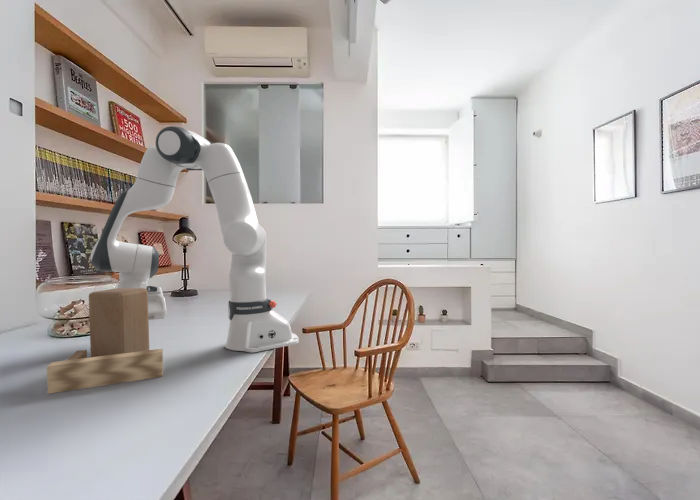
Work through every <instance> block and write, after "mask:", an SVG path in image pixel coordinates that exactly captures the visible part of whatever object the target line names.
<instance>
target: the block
mask: <svg viewBox="0 0 700 500" xmlns="http://www.w3.org/2000/svg"><path fill="white" fill-rule="evenodd" d="M88 310H89V311H88V314H89V340H90V342H89V343H90V357H99V356H107V355H115V354H123V353H131V352H139V351H147V350H150V330H149V329H150V327H149V325H150V324H149V323H150V322H149V321H150V320H148V291H147V289H144V288H117V287H115V288H110V289H103V290H98V291H92V292H90V293H89V294H88Z"/></svg>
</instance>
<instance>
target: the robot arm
mask: <svg viewBox="0 0 700 500" xmlns="http://www.w3.org/2000/svg"><path fill="white" fill-rule="evenodd" d="M185 169H186V171H203V173H204V176H205V179H206V181H207V183H208V188H209V191H210V193H211V196H212V199H213V201H214V204H215V207H216V211H217V216H218V217H217V218H218V221H219V226H220V230H221V231H220V232H221V234H222V239H223V243H224V246H225V247H226V249H227V250H228V251H229V253H231V261H230V271H229V275H228V276H229V277H228V278H229V280H228V281H229V283H228V284H229V300H228V304H227V311H228V312H227V316H228V319H229V324H228V326H229V327H228V334H227V338H226V343H225V349H227V350H230V351H238V352H239V351H240V352H246V353H257V352H262V351H269V350H272V349H278V348H283V347H289V346H294V345H297V344H299V342H300V340H299V338H300V337H299V336H298V335H297V334H296V333H295V332H292V328H291V325H290V322H289V321H288V320H287V319H286V318H285V317H284V316H282V315H281V314H279V313H278V312H276V311H275V310H274V308H276V307H277V302H276V301H275V300H272V299H269V298H267V255H268V252H267V250H268V246H267V245H268V236H267V233H266V230H265V229H264V228H263V226H262V225H260V224H259V223H260V222H259V220H258V217H257V213H256V209H255V206H254V202H253V197H252V194H251V192H250V188H249V186H248V183H247V180H246V177H245V173H244V171H243V168H242V166H241V163H240V161H239V159H238V157H237V156H236V154H235V152H234V149H232V147H231V146H230V145H229V144H226V143H223V142H212V141H211V140H210V139H208V138H206V137H203V136H201V135H200V134H198V133H197V132H195V131H192V130H189V129H186V128H183V127H180V126H166V127H164V128H162V129H161V130H160V131H158V133H157V135H156V136H155V145H153V146H150V147H148V148H146V150H145V152H144V154H143V157H142V159H141V162H140V164H139V167H138V171H137V174H136V179H135V181H134V183H133V185H132V186H131V187H130V188H128V189H127V190H123V191H122V192H121V193H120V194H119V195H118V197H117V199H116V201H115V203H114V205H113V207H112V209H111V211H110V213H109V215H108V218H107V220H106V222H105V225H104V227H103V228H102V232H101V234H100V236H99V239H98V240H97V241H96V243H95V244H94V246H93V248H91V249H92V250H91V252H90V264H91V265H92V266H93V267H94V268H95V269H96V270H97V271H99V272H105V273H106V272H107V273H108V272H109V273H111V272H114V273H115V272H116V273H119V275H118V280H119V283H118V285H117V287H116V288H144V289H147V291H148V320H149V321H150V320H151V321H152V320H161V319H162V320H164V319H165V318H166V317H167V315H168V314H167V304H166V299H165V297H164V292H163V289H162V287H160V286H155V285H150V284H148V283H149V281H150V279H152V278H153V277H154V276H155V275H156V274H157V273H158V270H159V265H160V263H159V262H160V261H159V260H160V259H159V258H160V253H159V251H158V250H157V249H156V248H155V246H150V245H145V244H141V243H140V244H139V243H131V242H124V241H120V240H117V239H116V238H117V237H118V234H119V232H120V230H121V228H122V225H123V222H124V221H125V219H126V218H127V217H128V216H129V215H131V214H134V213H138V212H147V211H154V210H158V209H161V208H164V207H165V206H167V205H169V204H170V203H171V201H172V199H173V197H174V194H175V190H176V186H177V181H178V177H179V175H180V173H181V172H182V171H183V170H185Z"/></svg>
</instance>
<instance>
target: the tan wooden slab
mask: <svg viewBox="0 0 700 500" xmlns="http://www.w3.org/2000/svg"><path fill="white" fill-rule="evenodd" d="M87 351H88V350H87V349H82V350H81V349H80V350H76V351H75V352H74V353H73V354H72V355H70V356H69V357H68V358H67V359H66V360H60V361H51V362H50V363H49V364H48V365H47V366H46V377H47V394H49V395H50V394H56V393H61V392H67V391H74V390H75V391H76V390H83V389H89V388H94V387H95V388H96V387H102V386H109V385H116V384H122V383H129V382H135V381H136V382H137V381H141V380H147V379H155V378H162V377H163V376H164V375H163V374H164V356H163V355H164V354H163V351H164V350H163V348H158V349H149V350H147V351H139V352H131V353H123V354H115V355H107V356H99V357H91V356H90V357H88V354H87V353H88V352H87Z"/></svg>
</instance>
